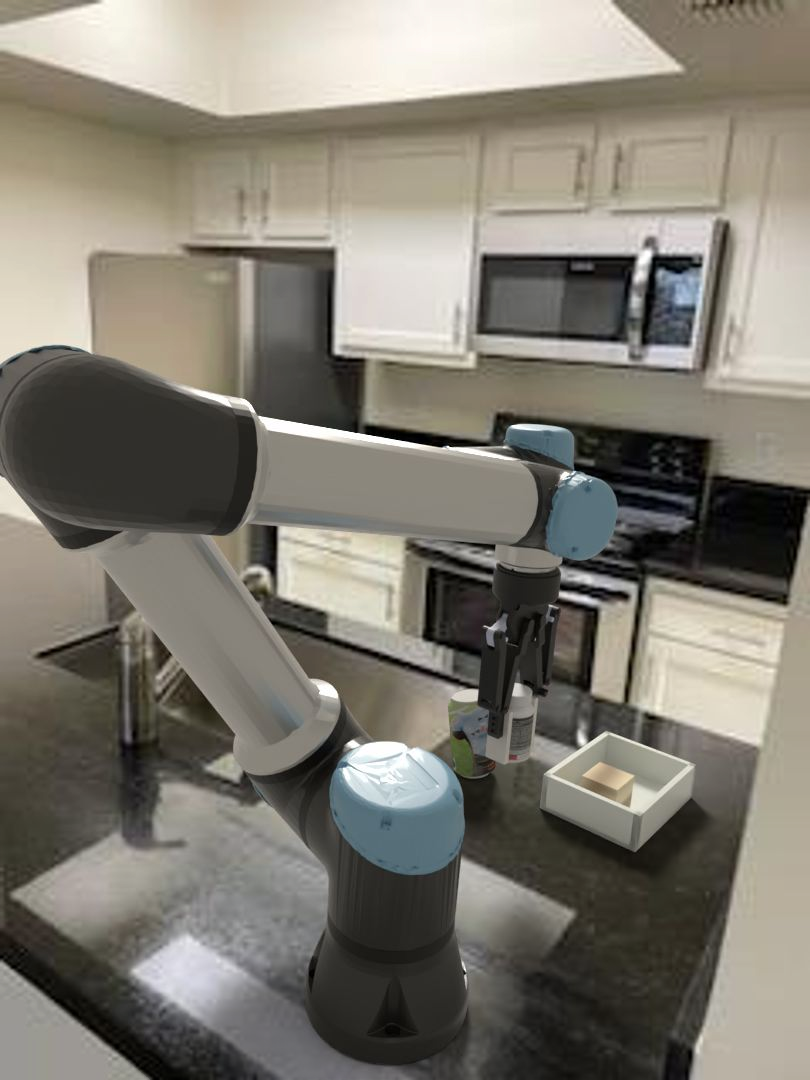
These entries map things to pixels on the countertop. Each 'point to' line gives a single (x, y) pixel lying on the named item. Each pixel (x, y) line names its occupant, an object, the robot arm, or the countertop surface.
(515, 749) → the pill bottle
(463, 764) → the beverage can
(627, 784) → the cube
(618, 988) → the countertop surface
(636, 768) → the tote
